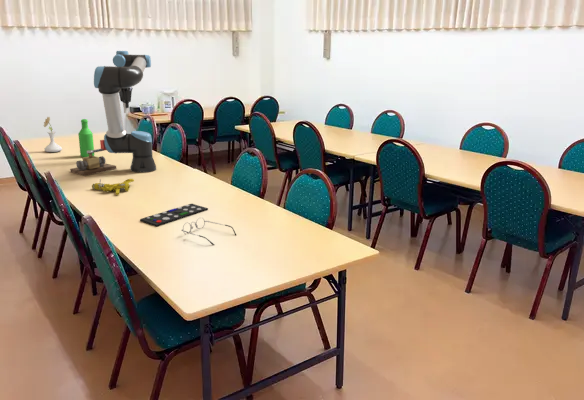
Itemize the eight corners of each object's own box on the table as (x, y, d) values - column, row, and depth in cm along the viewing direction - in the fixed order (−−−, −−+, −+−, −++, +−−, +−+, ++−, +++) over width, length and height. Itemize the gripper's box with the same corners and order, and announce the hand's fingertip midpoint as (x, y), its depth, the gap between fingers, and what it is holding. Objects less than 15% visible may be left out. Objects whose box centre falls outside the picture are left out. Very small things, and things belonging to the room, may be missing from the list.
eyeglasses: (205, 225, 217) (205, 215, 216) (238, 235, 207) (238, 224, 206) (178, 236, 205) (177, 225, 203) (212, 247, 195) (212, 235, 193)
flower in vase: (45, 150, 355) (41, 114, 348) (63, 149, 358) (59, 114, 351) (43, 154, 343) (38, 117, 336) (61, 153, 347) (57, 117, 339)
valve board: (116, 169, 308) (115, 151, 305) (84, 175, 291) (83, 157, 287) (101, 165, 316) (100, 148, 312) (70, 172, 298) (68, 154, 295)
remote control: (140, 222, 220) (139, 217, 219) (191, 206, 243) (191, 202, 243) (156, 228, 214) (156, 223, 213) (208, 211, 237) (208, 207, 237)
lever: (89, 154, 295) (88, 143, 294) (85, 153, 297) (84, 142, 295) (110, 150, 308) (109, 139, 306) (106, 149, 309) (105, 139, 308)
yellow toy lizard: (84, 194, 256) (122, 195, 254) (83, 182, 255) (121, 182, 253) (104, 187, 277) (139, 187, 276) (103, 175, 276) (138, 176, 274)
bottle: (91, 157, 336) (87, 120, 328) (78, 157, 336) (74, 120, 329) (96, 155, 344) (93, 118, 337) (84, 154, 344) (80, 118, 337)
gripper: (135, 76, 321) (137, 113, 328) (122, 75, 328) (124, 111, 335) (125, 76, 315) (128, 114, 322) (112, 75, 322) (115, 112, 329)
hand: (126, 112), depth 329 cm, fingers closed
